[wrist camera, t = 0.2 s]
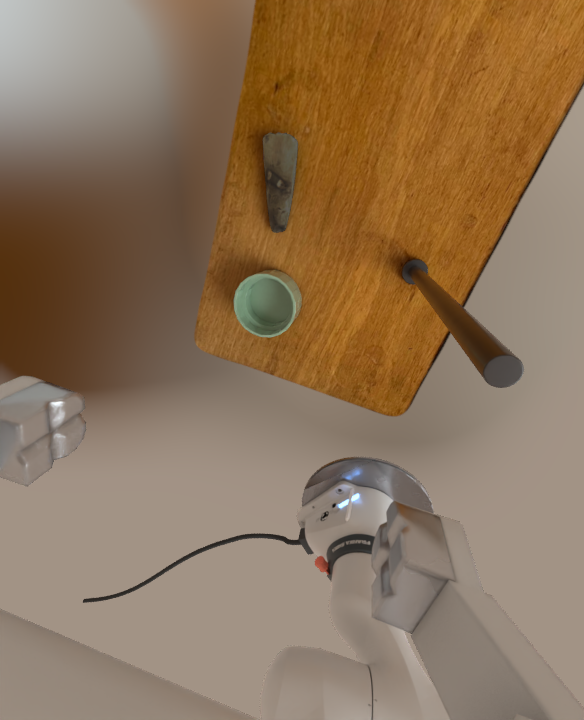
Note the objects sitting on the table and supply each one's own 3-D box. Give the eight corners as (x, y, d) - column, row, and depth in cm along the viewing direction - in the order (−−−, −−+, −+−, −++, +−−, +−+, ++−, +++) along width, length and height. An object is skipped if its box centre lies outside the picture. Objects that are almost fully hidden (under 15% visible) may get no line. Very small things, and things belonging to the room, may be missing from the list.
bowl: (268, 337, 60) (259, 348, 55) (234, 291, 58) (221, 298, 53) (313, 307, 56) (308, 315, 51) (278, 256, 55) (269, 260, 50)
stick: (409, 287, 52) (484, 414, 18) (397, 268, 51) (450, 360, 17) (431, 274, 51) (558, 383, 16) (418, 253, 50) (525, 323, 16)
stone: (265, 135, 48) (261, 132, 46) (299, 133, 47) (296, 130, 45) (268, 232, 54) (264, 232, 52) (299, 232, 53) (296, 233, 51)
